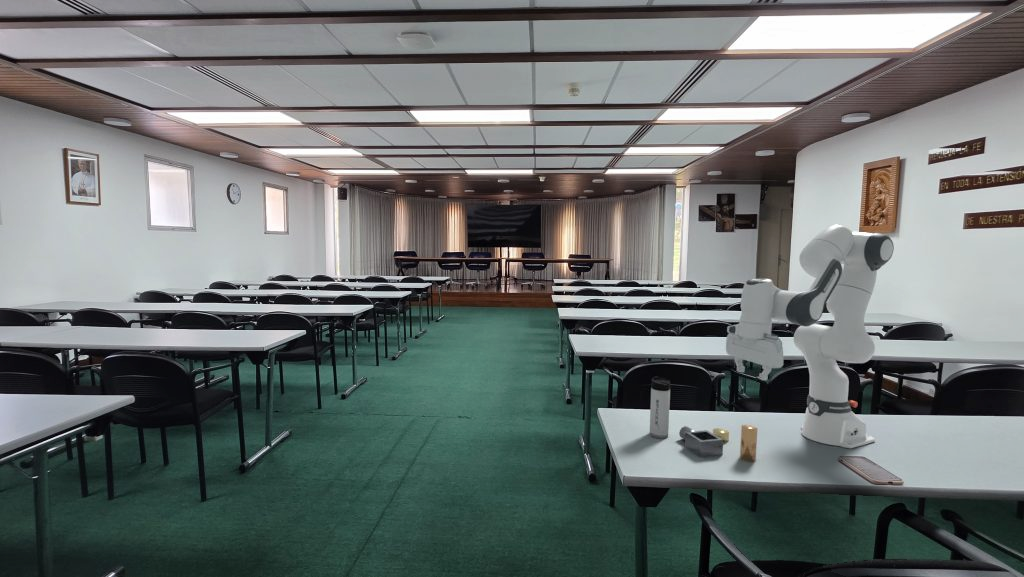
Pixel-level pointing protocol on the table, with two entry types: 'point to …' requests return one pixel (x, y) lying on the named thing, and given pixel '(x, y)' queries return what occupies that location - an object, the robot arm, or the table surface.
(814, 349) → the robot arm
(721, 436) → the brass round knob
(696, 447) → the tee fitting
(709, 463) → the table surface
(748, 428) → the copper brown cylinder
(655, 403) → the travel mug
